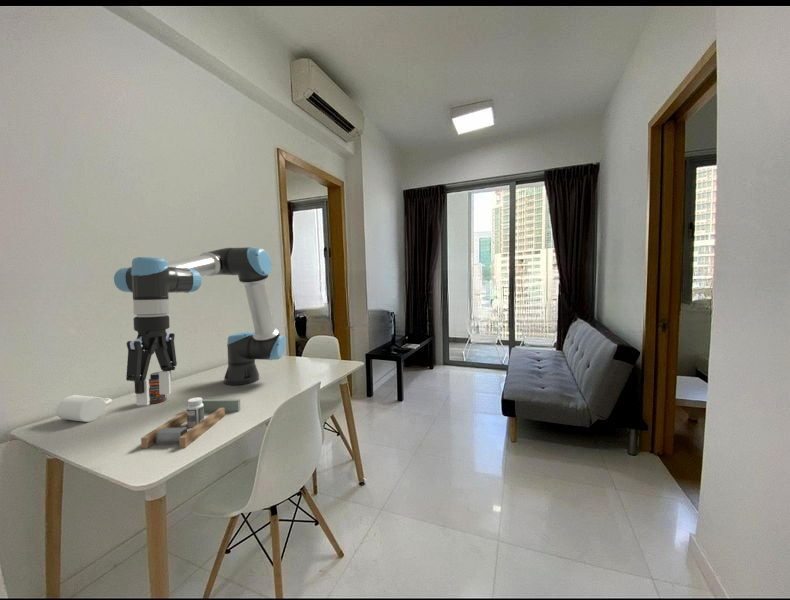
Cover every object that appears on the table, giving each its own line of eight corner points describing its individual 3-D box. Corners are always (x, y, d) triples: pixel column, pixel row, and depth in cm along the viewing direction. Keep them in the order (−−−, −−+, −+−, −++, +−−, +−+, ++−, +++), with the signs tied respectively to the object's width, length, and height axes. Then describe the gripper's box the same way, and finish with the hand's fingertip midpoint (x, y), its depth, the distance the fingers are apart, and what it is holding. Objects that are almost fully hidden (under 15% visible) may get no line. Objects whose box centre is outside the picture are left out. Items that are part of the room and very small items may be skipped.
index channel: (189, 416, 106) (189, 407, 106) (224, 415, 107) (224, 407, 107) (141, 448, 85) (141, 438, 85) (185, 447, 86) (185, 437, 86)
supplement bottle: (148, 405, 116) (147, 376, 116) (147, 400, 121) (146, 372, 120) (167, 401, 120) (166, 373, 119) (166, 397, 124) (165, 370, 124)
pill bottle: (201, 419, 104) (201, 395, 104) (206, 423, 101) (205, 399, 100) (185, 424, 100) (184, 399, 100) (189, 428, 97) (188, 403, 97)
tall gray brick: (163, 439, 90) (163, 427, 90) (187, 439, 91) (187, 427, 91) (156, 444, 87) (155, 432, 87) (180, 444, 88) (180, 432, 88)
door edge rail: (191, 410, 112) (190, 399, 111) (240, 409, 112) (240, 399, 112) (188, 411, 110) (188, 401, 110) (238, 411, 111) (238, 400, 110)
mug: (79, 426, 99) (78, 402, 99) (56, 423, 101) (55, 399, 101) (119, 411, 111) (118, 389, 110) (98, 409, 113) (97, 388, 112)
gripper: (164, 312, 91) (167, 386, 92) (102, 319, 71) (106, 414, 72) (190, 312, 91) (192, 386, 93) (134, 319, 71) (138, 414, 72)
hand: (154, 398), depth 82 cm, fingers open, 7 cm apart
